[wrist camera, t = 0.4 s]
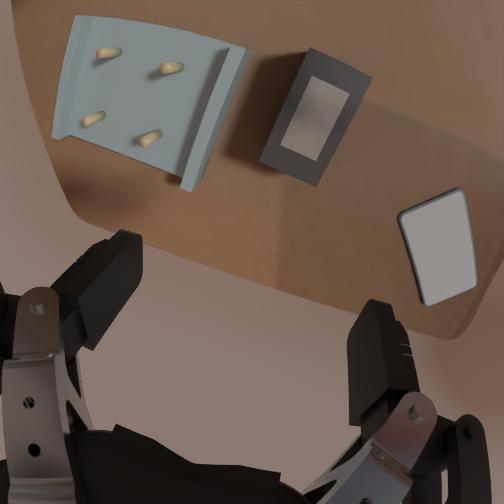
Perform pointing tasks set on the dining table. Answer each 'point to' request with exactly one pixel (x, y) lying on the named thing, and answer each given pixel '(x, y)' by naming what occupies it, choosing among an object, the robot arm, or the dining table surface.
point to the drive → (314, 117)
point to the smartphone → (441, 246)
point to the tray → (147, 92)
